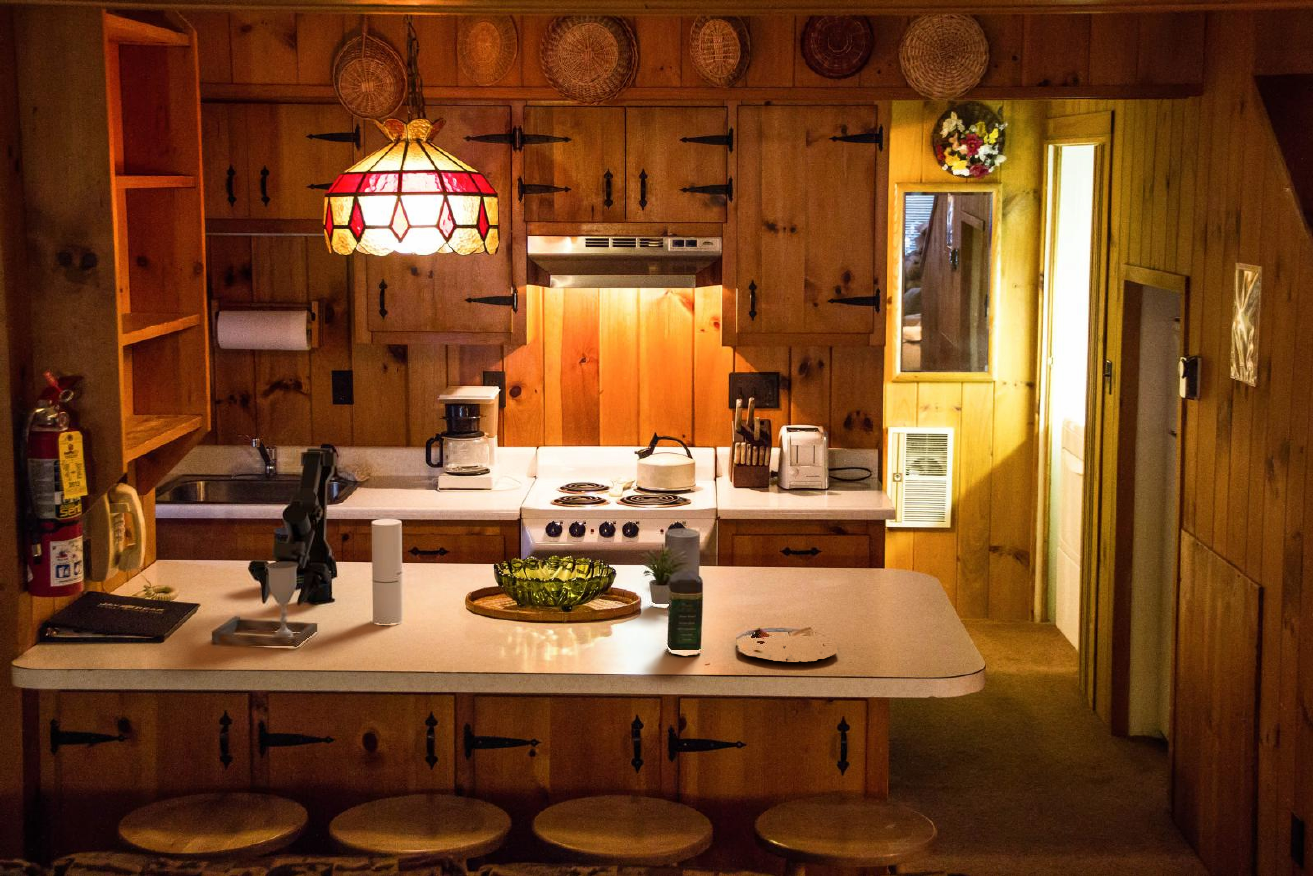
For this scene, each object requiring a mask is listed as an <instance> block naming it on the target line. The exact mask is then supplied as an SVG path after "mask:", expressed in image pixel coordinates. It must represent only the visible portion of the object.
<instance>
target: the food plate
mask: <svg viewBox="0 0 1313 876" xmlns="http://www.w3.org/2000/svg"><path fill="white" fill-rule="evenodd" d="M754 632H755V634H754ZM766 632H788V634H789V636H796V635H799V636H813V632H815V631H813V628H812V627H811V626H807V627H804V628H800V629H799V628H796V629H795V628H787V627H786V628H785V627H766V628H760V627H756V629H751V630H749V631H746V632H744V633H741V634H740V635H738V636H739V637H738V636H737V637H735V640H737V639H739V638H741V637H742V636H747V635H751V634H752V636H751V638H755V637H756V638H763V637H769V636H772V635H769V634H767V633H766ZM815 633H818V634H820V633H819V632H817V631H816V632H815ZM821 635H822V636H826V634H821ZM763 639H764V638H763ZM757 643H760V644H763V643H765V642H764V641H757ZM823 646H825V645H824V644H823ZM737 650H740V649H738V648H737ZM737 650H736V651H737ZM821 653H822V652H821Z"/></svg>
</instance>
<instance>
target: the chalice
mask: <svg viewBox="0 0 1313 876" xmlns="http://www.w3.org/2000/svg"><path fill="white" fill-rule="evenodd" d="M268 563H269V562H268ZM297 566H298V563H296V562H289V561H282V562H270V563H269V564H267V565H266V567H267V568H268V570H269V587H270V593H271V595H272V596H273V598H274V600H275V602H276V603H277V604H280V611H279V614H280V619H279V621H281V624H282V625H281V628H280V629H279V630H278V631H277V632H275V634H274V636H277V637H294V633H292V631H291V630H289V629H287V628H286V621H288V618H287V617H286V616H287V612H288V611H287V610H286V605H287V604H288V603H290V601H291V600H292V597H293V595H294V593H295V591H296V589H295V588H296V569H297Z"/></svg>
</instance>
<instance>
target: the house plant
mask: <svg viewBox="0 0 1313 876" xmlns="http://www.w3.org/2000/svg"><path fill="white" fill-rule="evenodd" d="M676 547H677V546H676ZM676 547H675V548H674V549H673V550H672V551H671V552H670V553H669V551H668V549H669V547H668V546H667V547H666V548H665V547H664V543H662V544H661V548H660V561H659V558H658V557H657V555H656V553H655V552H654V551H653V550H651V549H649V552H651V553H650V554H651V555H652V557H653V558H652V557H651V556H650V554H648V553H647V552H644V553H645V554H644V553H641V554H640V555H641V556H644V557H645V559H646V560H647V561H648V562H649V563H650V564H649V563H645V564H643V565H644V566H645V567H646V568H649V570H644V572H643V575H644V577H646V576H652V577H654V579H651V580H650V581H649V582H648V583H649V590H650V598H651V603H652V602H653V603H655V604H669V579H670V577H669V576H671V575H673V574H674V572H675V571H677V570H684V571H686V570H689V569H677V570H675V568H677V567H678V566H681V565H684V564H691V563H689V562H682V563H677V564H674V565H672V564H673V563H674V562H675V561H676V560H677V559H678V558H680V557H679V556H680V555H681V554H682V553H684V552H685V551H683V552H681V553H679V554H678V555H677V556H676V557H675V558H674V559H673V560H672V561H671V563H669V564H667V562H668V560H669V558H670V556H671V554H672V553H673V551H674V550H675V549H676ZM682 557H686V556H682ZM678 560H681V559H678ZM678 560H677V561H678ZM682 560H683V559H682ZM684 560H685V559H684ZM667 565H669V566H668V567H666V566H667ZM650 570H651V571H650ZM674 570H675V571H674ZM673 571H674V572H673Z"/></svg>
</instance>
